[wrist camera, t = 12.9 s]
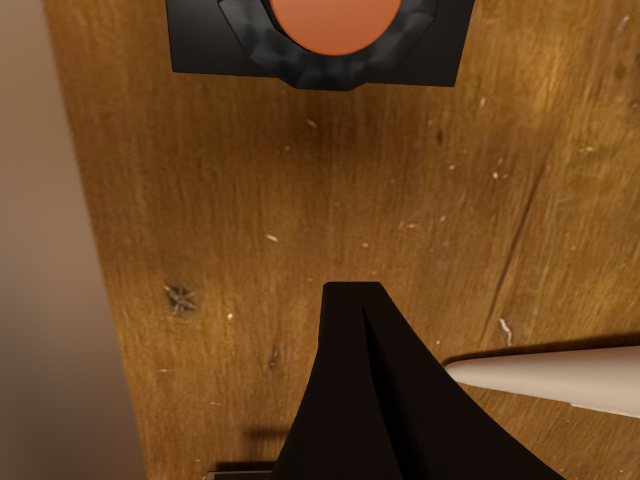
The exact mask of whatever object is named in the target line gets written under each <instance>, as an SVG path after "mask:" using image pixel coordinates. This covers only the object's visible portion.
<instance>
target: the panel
mask: <svg viewBox="0 0 640 480" xmlns="http://www.w3.org/2000/svg"><path fill="white" fill-rule="evenodd" d="M165 1H166V11H167V22H168V32H169V43H170V53H171V64H172V71H173V72H178V73H196V74H215V75H234V76H253V77H272V78H279V79H281V80H282V81H284V82H285V83H287V84H288V85H290V86H292V87H293V88H296V89H307V90H326V91H346V92H348V91H349V90H352V89H354V88H357V87H359V86H361V85H363V84H365V83H385V84H403V85H422V86H441V87H454V85H455V81H456V77H457V73H458V68H459V64H460V60H461V56H462V52H463V47H464V43H465V39H466V35H467V31H468V26H469V22H470V18H471V14H472V9H473V5H474V1H475V0H402V1H401V4H400V6H399V9H398V11H397V13H396V15H395V17H394V19H393V21H392V22H391V24H390V25H389V27H388V28H387V29H386V30H385V32H384V33H383V34H382V35H381V36H380V37H379V38H378V39H376V40H375V41H374V42H373V43H371V44H370V45H368V46H366V47H365V48H363V49H361V50H358V51H356V52H353V53H349V54H345V55H323V54H319V53H315V52H313V51H310V50H308V49H306V48H304V47H302V46H301V45H299V44H298V43H296V42H295V41H294V40H293V39H292V38H291V37H290V36H289V35H288V34H287V33H286V32H285V31H284V30H283V28H282V27H281V26H280V24H279V22H278V20H277V19H276V17H275V14H274V12H273V10H272V7H271V3H270V0H165Z"/></svg>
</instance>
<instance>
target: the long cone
mask: <svg viewBox="0 0 640 480" xmlns="http://www.w3.org/2000/svg"><path fill="white" fill-rule="evenodd" d="M444 369H445V370H446V371H447V373H448V374H449V375H450V376H451V377H452V378H453V379H454V380H455V381H457V382H461V383H464V384H468V385H473V386H478V387H483V388H489V389H495V390H501V391H506V392H512V393H518V394H523V395H529V396H535V397H541V398H546V399H552V400H558V401H564V402H569V404H570V405H572V406H576V407H581V408H587V409H592V410H598V411H603V412H609V413H614V414H620V415H625V416H631V417H636V418H640V346H628V347H615V348H603V349H590V350H577V351H564V352H550V353H538V354H525V355H512V356H500V357H488V358H478V359H469V360H462V361H457V362H453V363H450V364H448V365H446V366H445V368H444Z"/></svg>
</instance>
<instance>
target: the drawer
mask: <svg viewBox="0 0 640 480" xmlns="http://www.w3.org/2000/svg"><path fill="white" fill-rule="evenodd" d="M270 473H271V472H265V473H228V474H215V475H214V480H267V479H268V477H269V475H270Z"/></svg>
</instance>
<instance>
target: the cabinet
mask: <svg viewBox="0 0 640 480" xmlns="http://www.w3.org/2000/svg"><path fill="white" fill-rule="evenodd" d="M271 471H272V470H270V471H232V472H208V473H207V480H214V475H215V474H228V473H265V472H271Z"/></svg>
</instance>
